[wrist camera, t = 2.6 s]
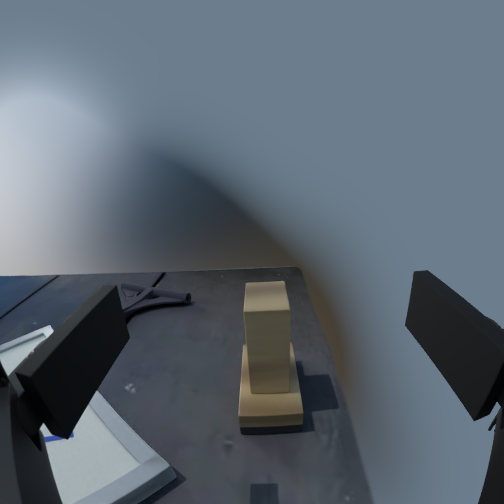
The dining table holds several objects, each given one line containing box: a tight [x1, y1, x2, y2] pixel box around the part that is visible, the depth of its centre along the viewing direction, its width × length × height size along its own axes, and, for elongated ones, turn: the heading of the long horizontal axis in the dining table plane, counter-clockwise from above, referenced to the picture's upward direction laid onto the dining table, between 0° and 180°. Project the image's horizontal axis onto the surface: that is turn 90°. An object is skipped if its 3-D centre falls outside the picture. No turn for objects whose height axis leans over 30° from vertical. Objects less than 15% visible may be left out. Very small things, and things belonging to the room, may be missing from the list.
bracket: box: [121, 282, 191, 318], centre depth 42 cm, size 14×15×3 cm
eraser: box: [238, 281, 304, 434], centre depth 24 cm, size 10×5×10 cm, turn 179°
